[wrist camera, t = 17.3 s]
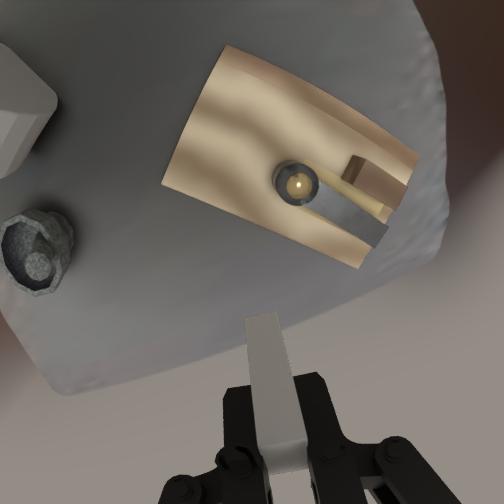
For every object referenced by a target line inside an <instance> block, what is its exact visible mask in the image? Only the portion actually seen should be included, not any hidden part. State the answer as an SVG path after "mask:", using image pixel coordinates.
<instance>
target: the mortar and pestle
mask: <svg viewBox="0 0 504 504" xmlns="http://www.w3.org/2000/svg"><path fill="white" fill-rule="evenodd" d="M73 245H74V236H73V228H72V227H71V225H70V224H69V223H68V221H67V220H66V218H65V217H64V216H63V215H60V214H58V213H56V212H53V211H51V212H48V213H45V212H42V211H40V210H37V209H34V208H33V209H30V210H26V211H24V212H22V213H20V214H18V215H15V216H13V217H11V218H9V219H8V220H6V221H4V222H3V224H2V227H1V230H0V261H1V265H2V268H3V269H4V270H5V272H6V273H7V275H8V276H9V277H10V279H11V280H12V282H13V283H14V284H15V286H16V287H18V288H20V289H22V290H24V291H25V292H27V293H29V294H31V295H33V296H35V297H36V296H41V295H45V294H49V293H53V292H54V291H55V290H56V289H57V287H58V286H59V284H60V282H61V280H62V278H63V276H64V274H65V272H66V270H67V268H68V267H69V265H70V263H71V251H70V250H71V248H72V247H73Z"/></svg>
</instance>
